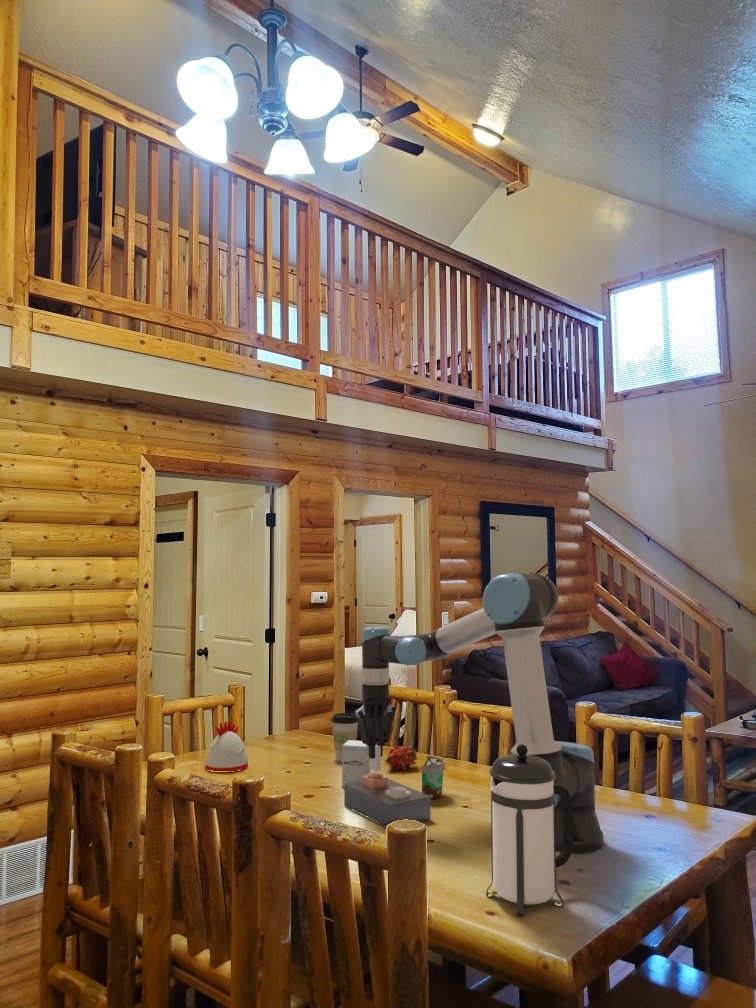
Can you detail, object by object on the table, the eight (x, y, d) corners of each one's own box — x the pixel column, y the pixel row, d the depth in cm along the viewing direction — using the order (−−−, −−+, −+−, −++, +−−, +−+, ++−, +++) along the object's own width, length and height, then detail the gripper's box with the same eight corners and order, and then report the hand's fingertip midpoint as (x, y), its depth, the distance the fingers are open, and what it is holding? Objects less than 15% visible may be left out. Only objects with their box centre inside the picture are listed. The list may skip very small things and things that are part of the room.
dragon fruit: (419, 772, 240) (389, 782, 234) (406, 752, 246) (376, 762, 240) (425, 754, 236) (395, 765, 230) (412, 735, 242) (382, 744, 236)
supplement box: (341, 787, 217) (341, 744, 218) (348, 781, 224) (348, 739, 225) (365, 789, 215) (365, 746, 216) (371, 782, 222) (371, 740, 224)
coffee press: (563, 925, 132) (560, 757, 135) (478, 910, 138) (476, 749, 141) (574, 887, 148) (571, 737, 151) (497, 875, 154) (495, 731, 157)
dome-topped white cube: (411, 815, 189) (411, 789, 190) (395, 819, 186) (395, 792, 187) (400, 810, 193) (400, 785, 194) (384, 814, 190) (385, 788, 191)
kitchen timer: (197, 766, 240) (198, 720, 241) (233, 759, 249) (234, 715, 251) (219, 775, 230) (220, 727, 231) (255, 768, 239) (256, 721, 240)
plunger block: (430, 819, 189) (430, 796, 189) (389, 829, 182) (390, 804, 182) (382, 798, 207) (383, 776, 208) (344, 806, 200) (344, 783, 200)
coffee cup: (327, 757, 253) (328, 713, 255) (354, 755, 256) (354, 712, 258) (334, 764, 244) (334, 718, 245) (362, 762, 247) (362, 717, 248)
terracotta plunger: (387, 799, 198) (387, 775, 199) (372, 802, 196) (372, 777, 196) (377, 795, 202) (377, 771, 203) (362, 798, 200) (362, 773, 200)
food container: (443, 803, 202) (443, 767, 203) (421, 802, 203) (421, 765, 204) (447, 791, 214) (447, 756, 215) (427, 789, 215) (427, 755, 216)
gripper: (386, 679, 209) (387, 763, 206) (348, 683, 202) (348, 770, 199) (402, 682, 203) (402, 769, 200) (363, 686, 195) (363, 776, 193)
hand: (375, 769), depth 200 cm, fingers closed
